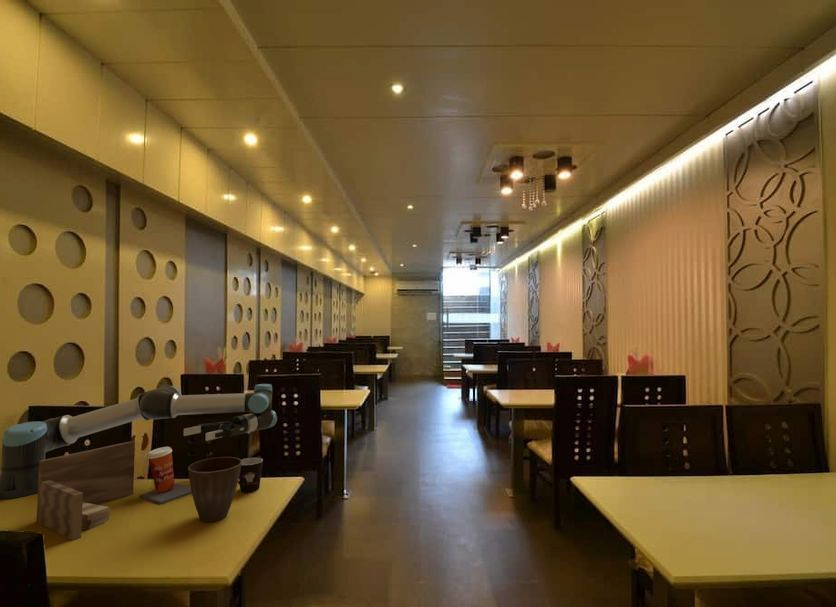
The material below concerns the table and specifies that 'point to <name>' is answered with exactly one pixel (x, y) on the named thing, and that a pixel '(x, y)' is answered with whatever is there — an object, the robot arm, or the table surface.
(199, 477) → the plant pot
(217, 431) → the robot arm
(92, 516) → the offcut stack
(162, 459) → the paper cup
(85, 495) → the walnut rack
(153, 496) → the rubber mat
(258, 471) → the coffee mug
